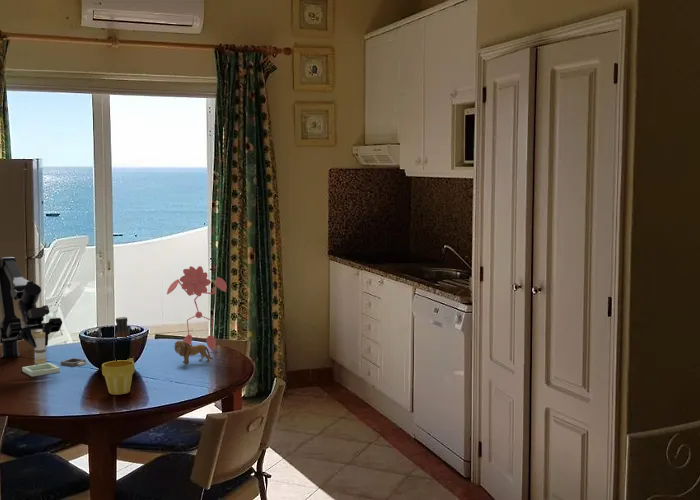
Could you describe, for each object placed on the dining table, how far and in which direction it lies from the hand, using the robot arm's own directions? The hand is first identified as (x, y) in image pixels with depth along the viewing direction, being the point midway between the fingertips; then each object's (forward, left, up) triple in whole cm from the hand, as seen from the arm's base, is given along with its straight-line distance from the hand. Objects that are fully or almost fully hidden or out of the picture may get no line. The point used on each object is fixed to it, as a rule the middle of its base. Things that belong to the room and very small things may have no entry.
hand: (41, 346), depth 291 cm
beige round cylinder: (-1, -1, -6) cm, 6 cm away
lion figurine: (+1, +54, -10) cm, 55 cm away
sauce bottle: (+6, +28, -10) cm, 31 cm away
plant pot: (+34, +25, -10) cm, 44 cm away
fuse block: (-10, +10, -10) cm, 18 cm away
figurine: (-16, +57, -10) cm, 61 cm away
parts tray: (-1, -1, -10) cm, 10 cm away
